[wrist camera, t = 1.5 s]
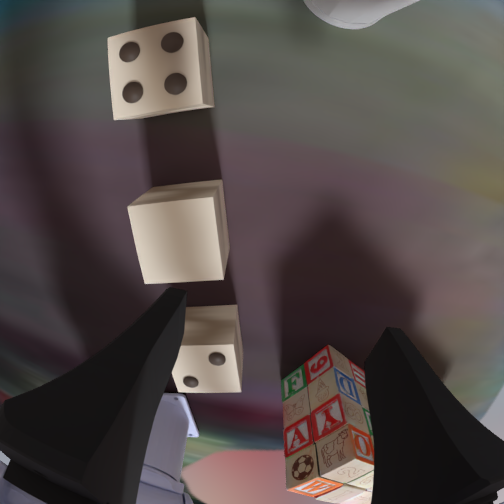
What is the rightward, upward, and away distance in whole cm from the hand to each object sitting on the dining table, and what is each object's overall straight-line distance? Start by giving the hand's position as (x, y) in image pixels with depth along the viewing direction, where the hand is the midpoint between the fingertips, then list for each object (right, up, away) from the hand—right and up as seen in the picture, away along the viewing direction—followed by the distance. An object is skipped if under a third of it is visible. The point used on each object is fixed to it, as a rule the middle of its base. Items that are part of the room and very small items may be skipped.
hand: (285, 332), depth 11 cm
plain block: (-5, +5, +12) cm, 14 cm away
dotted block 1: (-6, +14, +8) cm, 17 cm away
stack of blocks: (+11, -14, +20) cm, 27 cm away
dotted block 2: (-5, -4, +16) cm, 17 cm away
